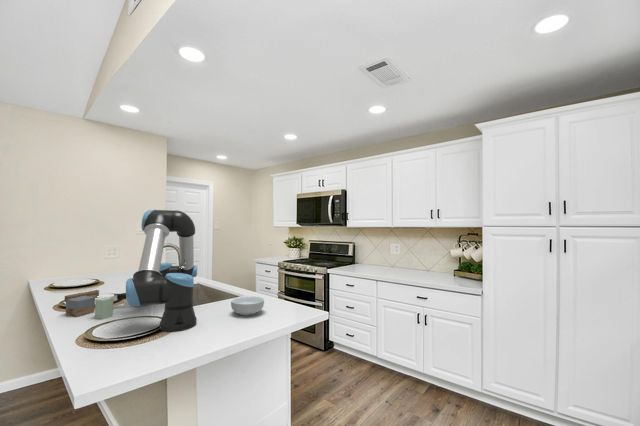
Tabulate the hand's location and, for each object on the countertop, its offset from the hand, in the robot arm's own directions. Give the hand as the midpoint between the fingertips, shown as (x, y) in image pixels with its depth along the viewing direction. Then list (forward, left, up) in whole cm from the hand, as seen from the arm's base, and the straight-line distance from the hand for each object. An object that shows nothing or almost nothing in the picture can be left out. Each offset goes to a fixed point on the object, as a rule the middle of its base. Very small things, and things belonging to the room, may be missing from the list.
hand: (114, 302), depth 145 cm
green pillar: (0, +5, -6) cm, 8 cm away
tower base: (+16, +5, -6) cm, 18 cm away
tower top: (+16, +5, -2) cm, 17 cm away
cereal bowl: (-62, -24, -6) cm, 67 cm away
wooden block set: (+35, -12, -7) cm, 38 cm away
